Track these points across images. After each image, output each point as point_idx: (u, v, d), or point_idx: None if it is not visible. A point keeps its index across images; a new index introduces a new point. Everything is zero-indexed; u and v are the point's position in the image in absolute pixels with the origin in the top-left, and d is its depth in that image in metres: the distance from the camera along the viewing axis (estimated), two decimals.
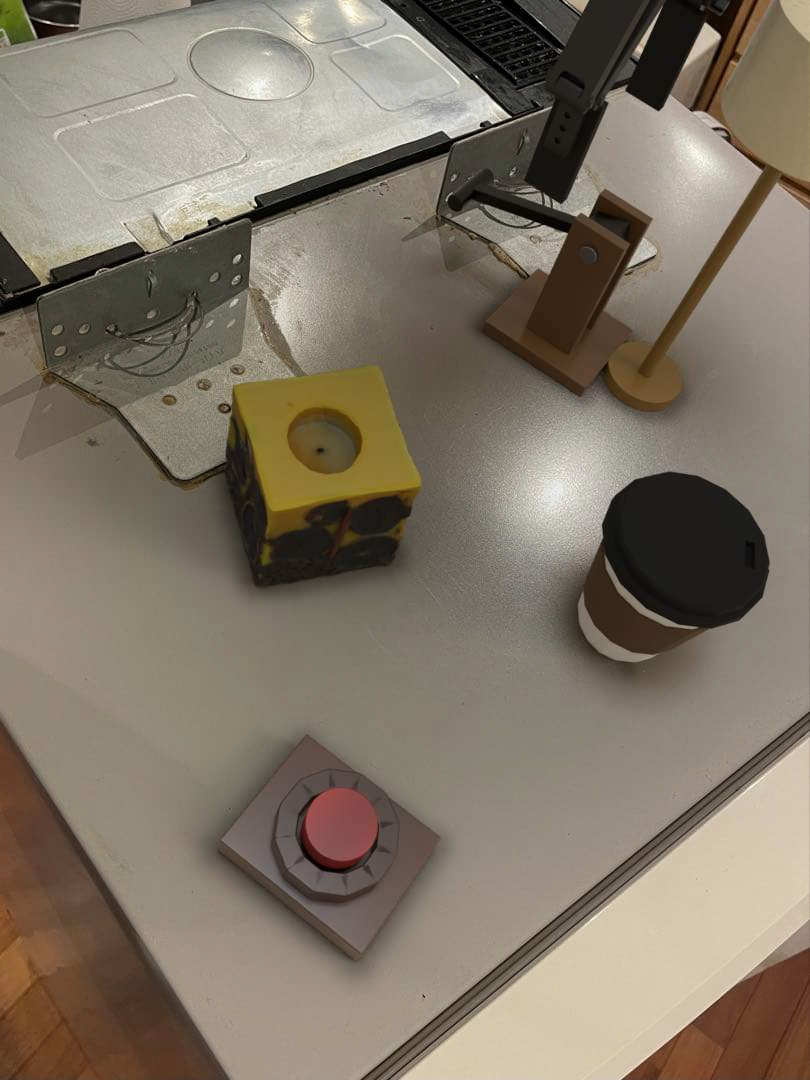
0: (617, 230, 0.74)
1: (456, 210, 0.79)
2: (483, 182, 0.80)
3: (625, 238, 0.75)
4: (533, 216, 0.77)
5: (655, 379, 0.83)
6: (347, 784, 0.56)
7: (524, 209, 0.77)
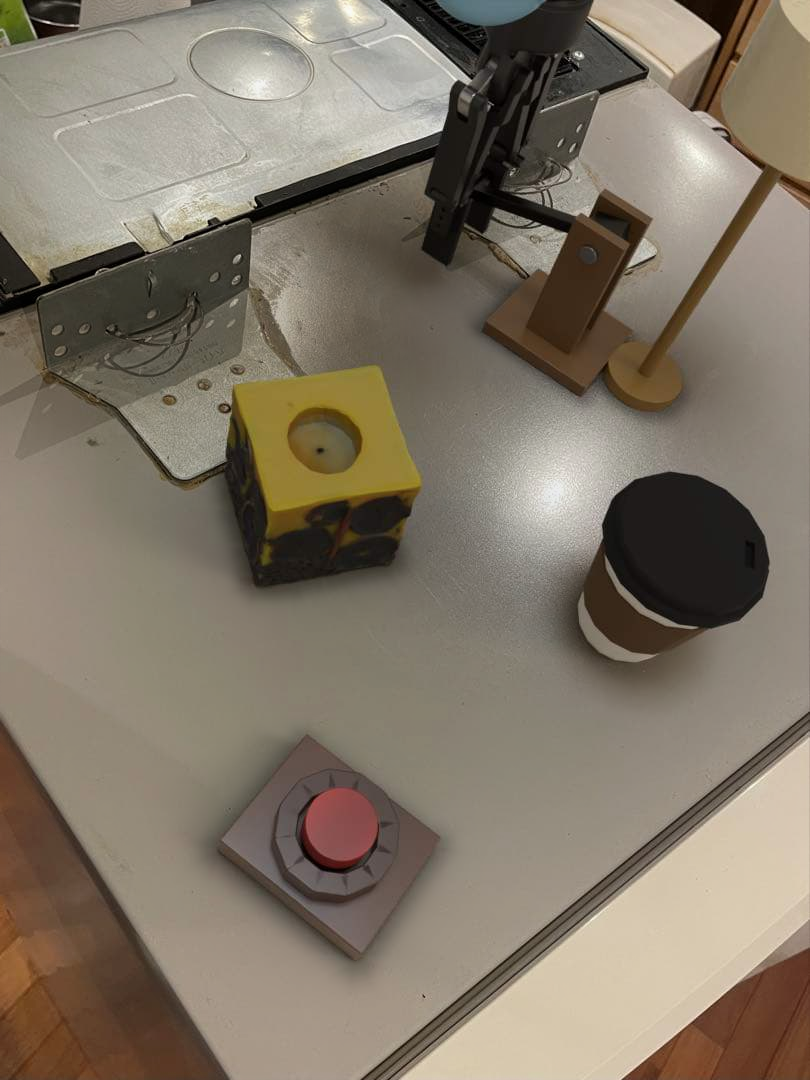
0: (617, 230, 0.74)
1: None
2: (483, 182, 0.80)
3: (625, 238, 0.75)
4: (533, 216, 0.77)
5: (655, 379, 0.83)
6: (347, 784, 0.56)
7: (524, 209, 0.77)
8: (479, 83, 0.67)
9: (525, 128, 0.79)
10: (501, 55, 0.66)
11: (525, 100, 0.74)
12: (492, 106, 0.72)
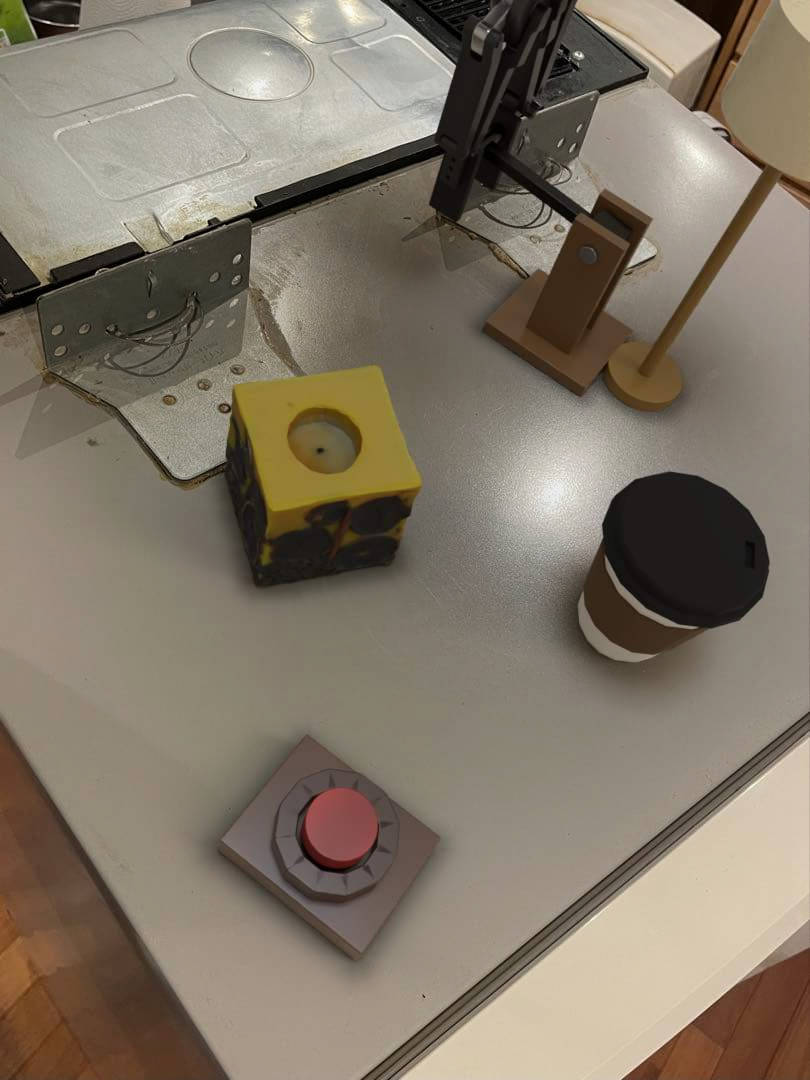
0: (620, 237, 0.74)
1: None
2: (495, 139, 0.76)
3: None
4: (540, 194, 0.76)
5: (655, 379, 0.83)
6: (347, 784, 0.56)
7: (533, 184, 0.75)
8: (494, 18, 0.63)
9: (539, 76, 0.75)
10: None
11: (541, 43, 0.70)
12: (506, 47, 0.68)
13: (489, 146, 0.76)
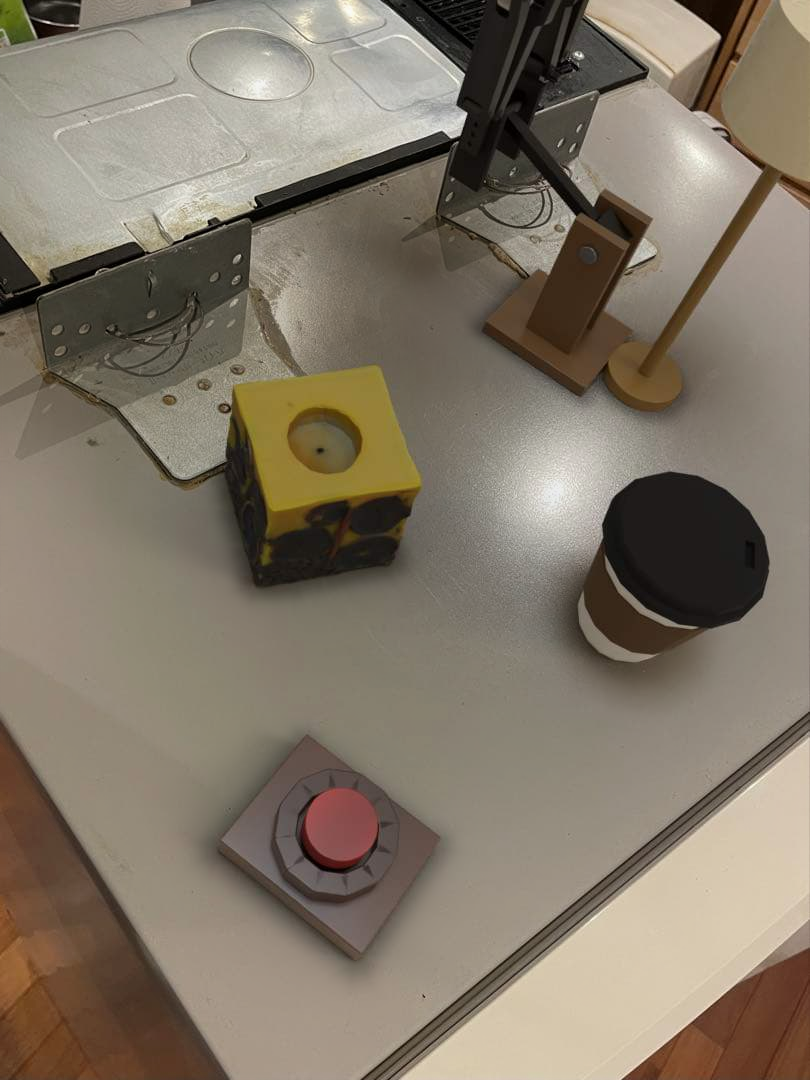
0: None
1: None
2: (516, 109, 0.74)
3: None
4: (551, 179, 0.74)
5: (655, 379, 0.83)
6: (347, 784, 0.56)
7: (547, 167, 0.74)
8: None
9: (564, 38, 0.72)
10: None
11: (568, 1, 0.67)
12: (533, 4, 0.65)
13: (511, 117, 0.73)
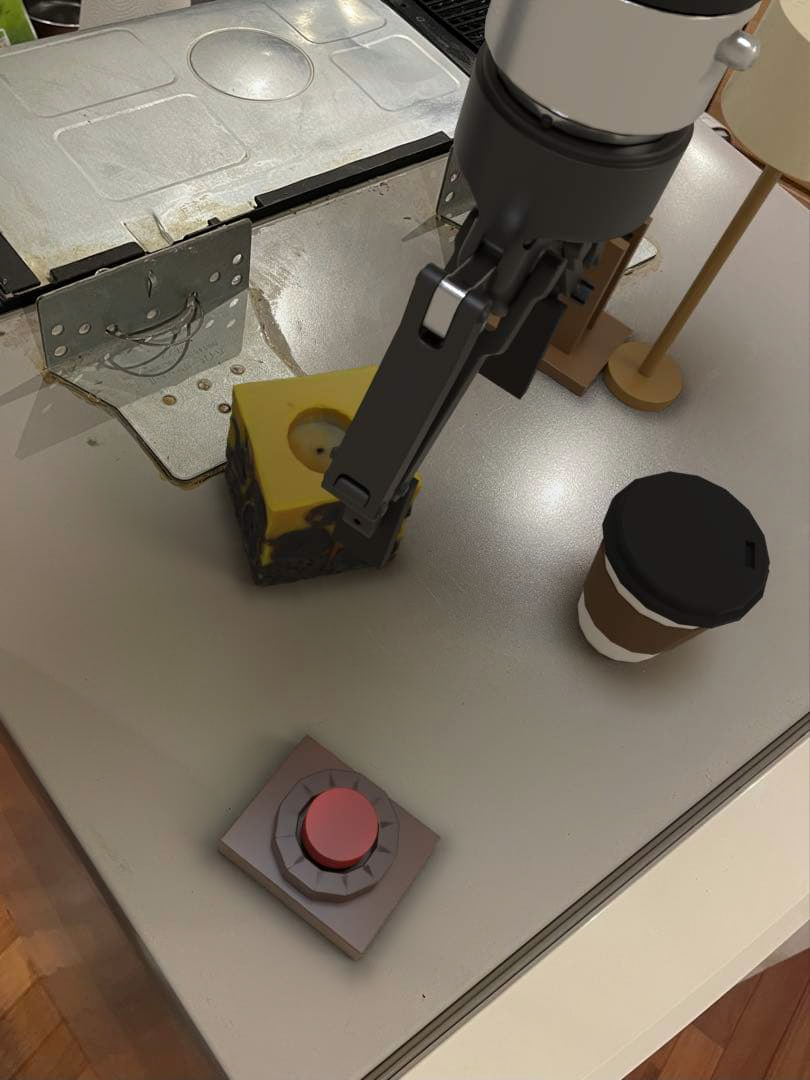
0: None
1: None
2: None
3: None
4: None
5: (655, 379, 0.83)
6: (347, 784, 0.56)
7: None
8: (473, 274, 0.33)
9: (588, 252, 0.46)
10: (506, 244, 0.33)
11: (566, 266, 0.41)
12: None
13: None
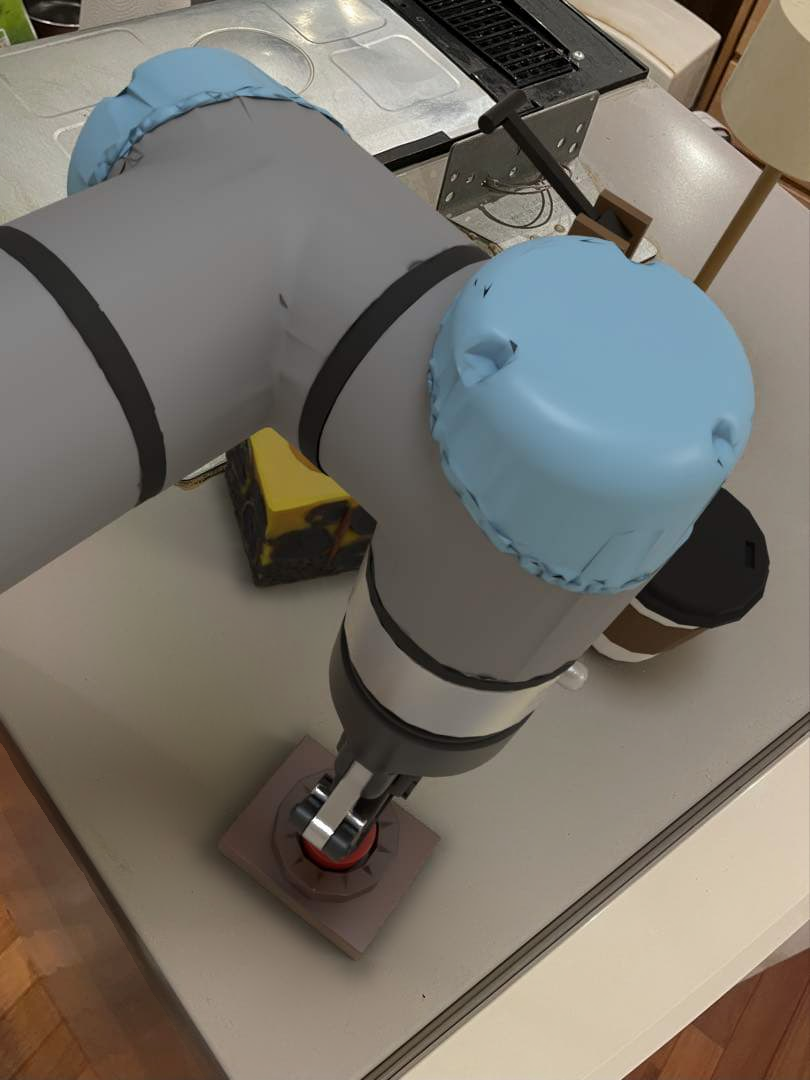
0: None
1: (483, 132, 0.73)
2: (517, 109, 0.74)
3: None
4: (551, 179, 0.74)
5: None
6: None
7: (547, 167, 0.74)
8: (336, 811, 0.37)
9: None
10: (374, 771, 0.36)
11: None
12: None
13: (511, 116, 0.73)
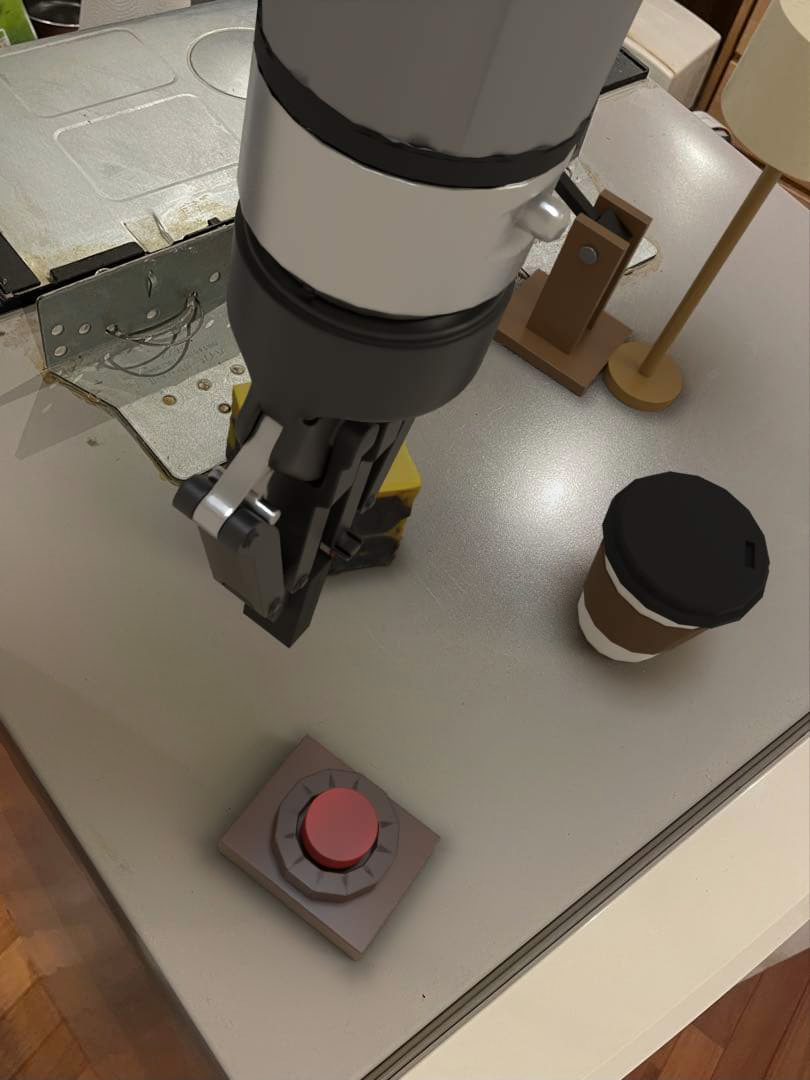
0: None
1: None
2: None
3: None
4: None
5: (655, 379, 0.83)
6: (347, 784, 0.56)
7: None
8: (237, 485, 0.28)
9: (366, 481, 0.39)
10: (284, 419, 0.27)
11: (365, 453, 0.34)
12: None
13: None
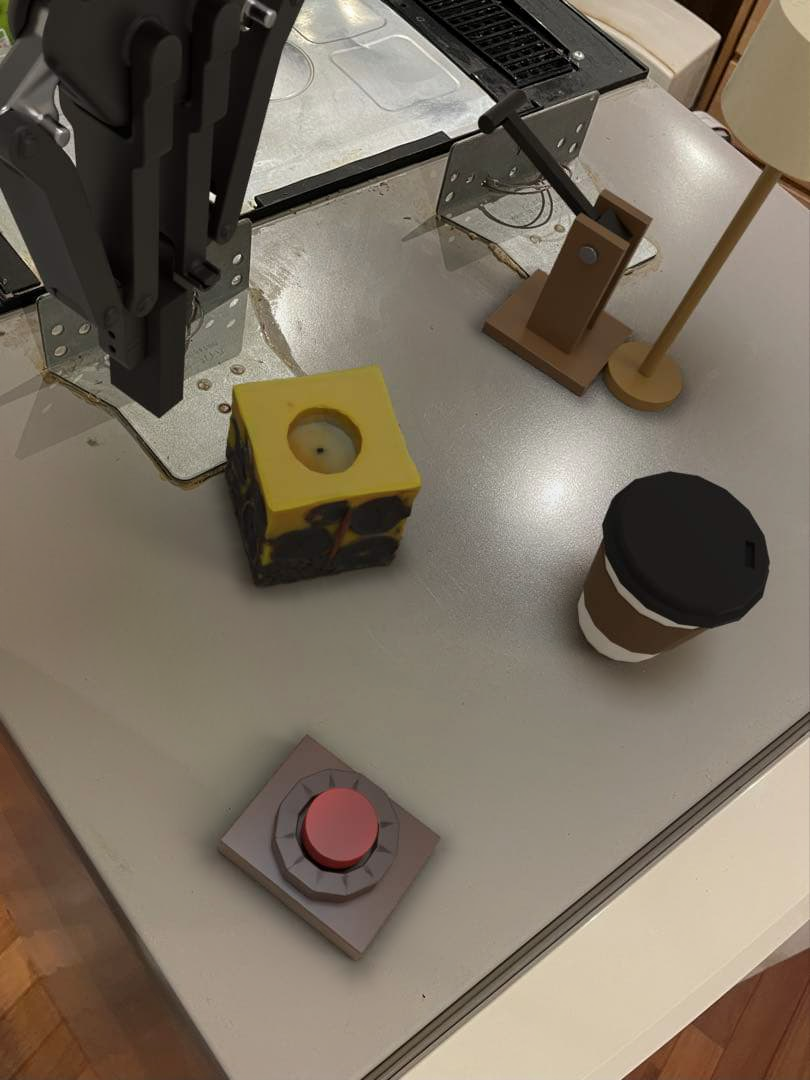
0: None
1: (483, 132, 0.73)
2: (517, 109, 0.74)
3: None
4: (551, 179, 0.74)
5: (655, 379, 0.83)
6: (347, 784, 0.56)
7: (547, 167, 0.74)
8: (9, 82, 0.25)
9: (218, 198, 0.36)
10: None
11: (191, 120, 0.31)
12: None
13: (511, 116, 0.73)
